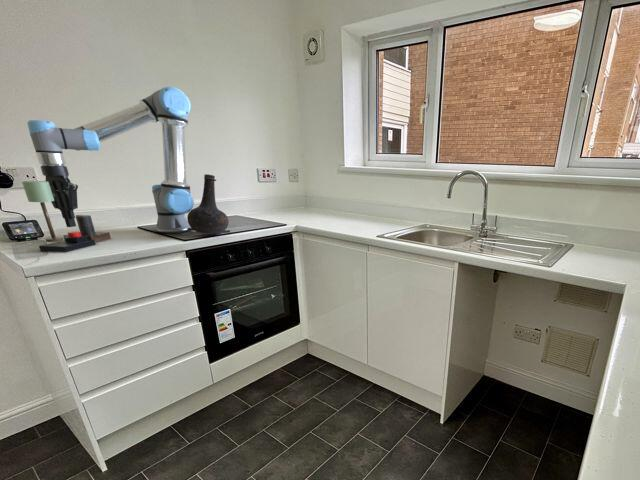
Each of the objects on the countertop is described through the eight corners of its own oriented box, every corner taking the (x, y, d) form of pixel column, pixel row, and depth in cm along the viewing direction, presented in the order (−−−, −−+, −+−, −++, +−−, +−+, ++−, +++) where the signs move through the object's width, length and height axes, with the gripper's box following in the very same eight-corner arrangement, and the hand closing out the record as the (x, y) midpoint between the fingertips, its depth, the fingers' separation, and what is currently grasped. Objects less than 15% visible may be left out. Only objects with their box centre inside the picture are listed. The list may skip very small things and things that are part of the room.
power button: (84, 236, 147) (82, 231, 146) (75, 238, 143) (74, 233, 142) (74, 236, 147) (73, 231, 146) (66, 238, 143) (64, 233, 142)
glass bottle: (187, 232, 161) (187, 169, 156) (187, 230, 176) (187, 172, 171) (229, 236, 170) (231, 176, 165) (226, 234, 185) (227, 179, 180)
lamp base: (96, 244, 150) (94, 235, 148) (66, 252, 136) (62, 242, 135) (73, 243, 150) (70, 234, 148) (40, 251, 136) (37, 241, 135)
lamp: (71, 239, 140) (53, 181, 132) (55, 242, 133) (35, 182, 125) (54, 238, 140) (35, 180, 132) (37, 242, 133) (15, 181, 125)
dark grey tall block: (98, 233, 156) (93, 214, 153) (91, 235, 151) (85, 216, 148) (85, 233, 155) (80, 214, 152) (78, 235, 150) (72, 216, 147)
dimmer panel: (112, 238, 160) (110, 232, 159) (92, 244, 150) (89, 236, 149) (85, 237, 160) (83, 231, 159) (63, 242, 150) (60, 235, 149)
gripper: (78, 165, 138) (95, 225, 147) (46, 164, 138) (64, 224, 147) (61, 165, 131) (79, 228, 140) (26, 164, 131) (47, 227, 140)
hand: (71, 226), depth 143 cm, fingers closed
